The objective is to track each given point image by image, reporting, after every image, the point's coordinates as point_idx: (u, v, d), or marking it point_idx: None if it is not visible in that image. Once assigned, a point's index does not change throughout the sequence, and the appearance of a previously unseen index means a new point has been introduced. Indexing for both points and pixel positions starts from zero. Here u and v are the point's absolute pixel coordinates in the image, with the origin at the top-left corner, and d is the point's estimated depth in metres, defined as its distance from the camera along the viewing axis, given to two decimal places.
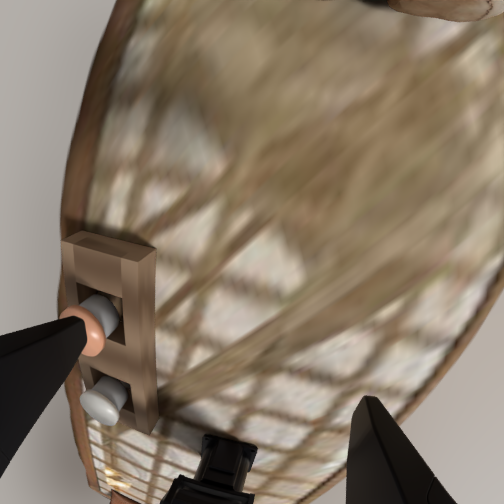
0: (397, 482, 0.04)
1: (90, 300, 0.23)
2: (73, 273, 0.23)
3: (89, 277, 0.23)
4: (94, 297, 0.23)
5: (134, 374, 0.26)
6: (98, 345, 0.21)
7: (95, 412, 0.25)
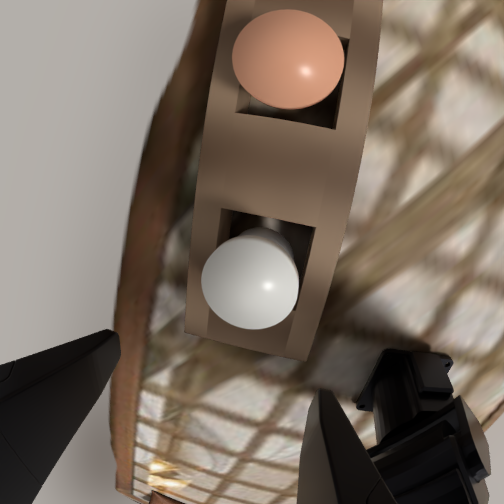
0: (335, 480, 0.05)
1: None
2: (248, 11, 0.12)
3: None
4: None
5: (335, 197, 0.15)
6: (335, 72, 0.10)
7: (239, 296, 0.14)
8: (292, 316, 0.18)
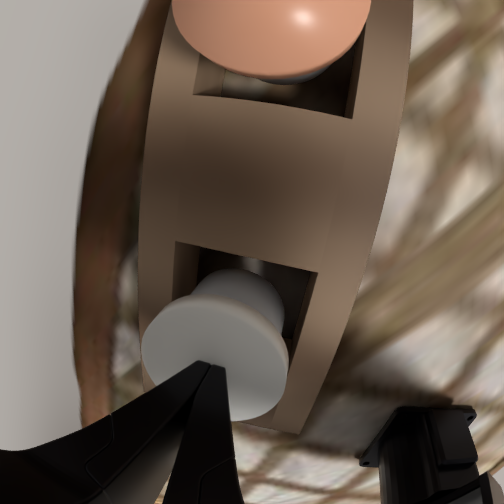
0: (183, 448, 0.05)
1: None
2: None
3: None
4: None
5: (350, 228, 0.09)
6: (355, 13, 0.05)
7: None
8: None
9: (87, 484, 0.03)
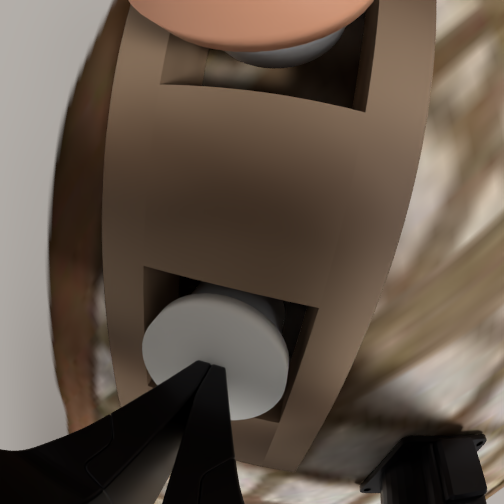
0: (183, 448, 0.05)
1: None
2: None
3: None
4: None
5: (360, 253, 0.07)
6: None
7: None
8: (274, 428, 0.10)
9: (87, 483, 0.03)
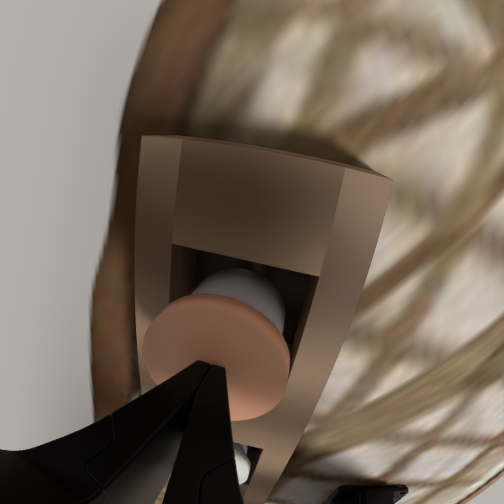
0: (183, 448, 0.05)
1: (228, 282, 0.10)
2: (167, 220, 0.10)
3: (221, 227, 0.10)
4: (233, 274, 0.11)
5: (283, 434, 0.13)
6: (272, 396, 0.08)
7: None
8: (246, 487, 0.15)
9: (87, 483, 0.03)
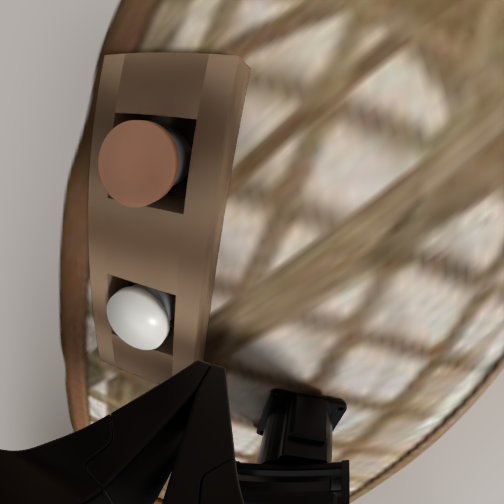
0: (183, 448, 0.05)
1: None
2: (113, 99, 0.14)
3: (142, 97, 0.14)
4: None
5: (188, 272, 0.17)
6: (165, 177, 0.14)
7: (130, 327, 0.19)
8: (171, 359, 0.20)
9: (87, 483, 0.03)
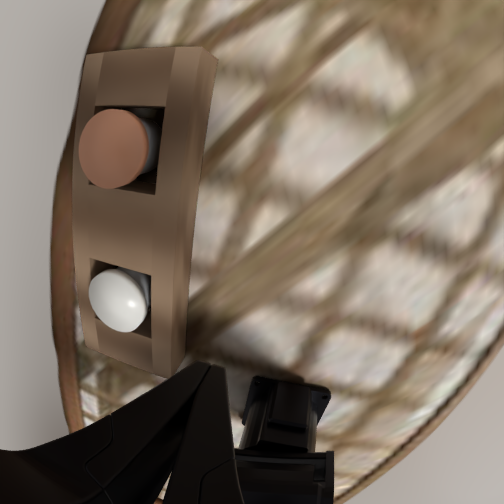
0: (183, 448, 0.05)
1: None
2: (93, 93, 0.15)
3: (118, 90, 0.15)
4: None
5: (161, 252, 0.18)
6: (136, 158, 0.15)
7: (110, 309, 0.19)
8: (150, 342, 0.20)
9: (87, 484, 0.03)
